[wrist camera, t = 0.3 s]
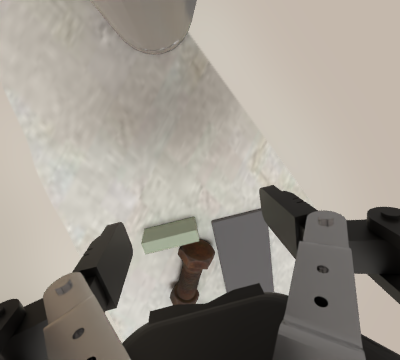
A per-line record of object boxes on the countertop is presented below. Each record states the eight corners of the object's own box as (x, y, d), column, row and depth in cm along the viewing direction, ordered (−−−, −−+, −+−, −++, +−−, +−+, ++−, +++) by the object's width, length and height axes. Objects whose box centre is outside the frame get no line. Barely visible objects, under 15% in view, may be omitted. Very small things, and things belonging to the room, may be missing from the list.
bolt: (175, 293, 40) (191, 232, 35) (198, 307, 39) (218, 245, 33) (159, 319, 35) (174, 252, 30) (184, 335, 34) (205, 268, 28)
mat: (211, 220, 33) (212, 223, 32) (265, 207, 33) (266, 209, 33) (228, 300, 40) (229, 303, 39) (272, 289, 40) (273, 291, 40)
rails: (144, 229, 32) (141, 243, 29) (194, 216, 32) (196, 230, 29) (185, 337, 43) (186, 357, 39) (222, 327, 43) (226, 346, 40)
